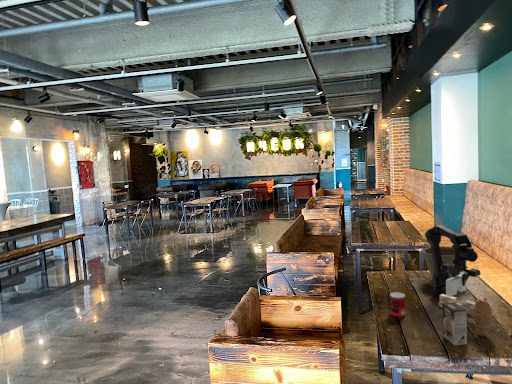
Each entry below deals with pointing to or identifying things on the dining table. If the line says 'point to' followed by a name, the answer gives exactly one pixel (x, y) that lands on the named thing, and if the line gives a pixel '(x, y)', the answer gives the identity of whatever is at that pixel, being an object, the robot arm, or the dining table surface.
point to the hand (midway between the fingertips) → (460, 285)
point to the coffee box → (454, 323)
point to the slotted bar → (454, 285)
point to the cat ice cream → (482, 316)
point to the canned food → (397, 304)
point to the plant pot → (446, 255)
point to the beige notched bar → (464, 303)
